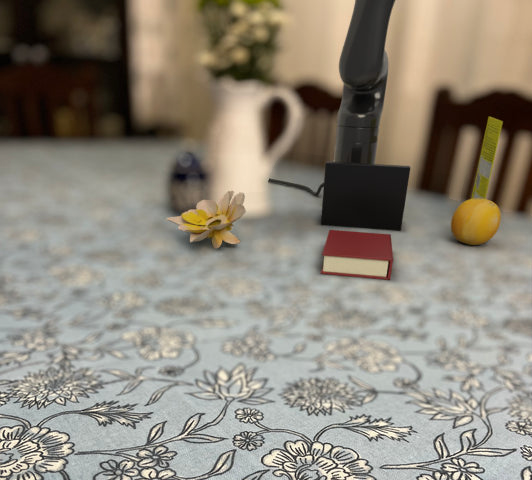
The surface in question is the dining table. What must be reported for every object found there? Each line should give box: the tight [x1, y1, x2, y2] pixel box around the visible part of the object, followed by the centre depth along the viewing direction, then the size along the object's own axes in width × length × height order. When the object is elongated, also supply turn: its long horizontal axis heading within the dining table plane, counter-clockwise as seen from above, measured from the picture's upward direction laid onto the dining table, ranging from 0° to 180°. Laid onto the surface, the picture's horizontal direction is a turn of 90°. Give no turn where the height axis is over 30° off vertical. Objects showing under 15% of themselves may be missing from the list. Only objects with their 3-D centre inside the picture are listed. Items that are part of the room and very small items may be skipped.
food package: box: [470, 116, 504, 199], centre depth 109 cm, size 15×1×20 cm, turn 168°
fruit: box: [450, 198, 502, 246], centre depth 95 cm, size 9×8×8 cm
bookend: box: [320, 160, 411, 232], centre depth 104 cm, size 7×16×12 cm, turn 80°
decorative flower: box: [165, 190, 247, 250], centre depth 91 cm, size 15×11×10 cm
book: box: [320, 229, 394, 281], centre depth 84 cm, size 14×10×3 cm
